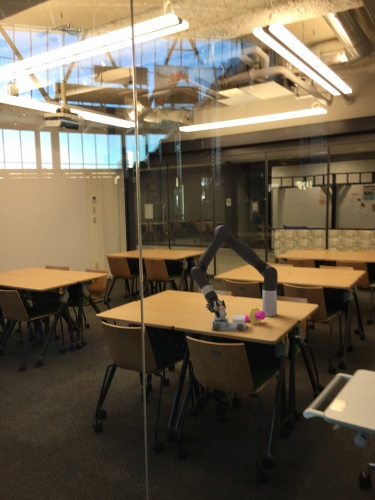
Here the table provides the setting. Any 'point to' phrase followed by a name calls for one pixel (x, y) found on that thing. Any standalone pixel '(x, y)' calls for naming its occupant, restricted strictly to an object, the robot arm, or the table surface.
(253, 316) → the toy
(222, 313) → the engine block
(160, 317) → the table surface
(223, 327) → the chassis
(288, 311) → the table surface
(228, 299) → the table surface
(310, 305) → the table surface
